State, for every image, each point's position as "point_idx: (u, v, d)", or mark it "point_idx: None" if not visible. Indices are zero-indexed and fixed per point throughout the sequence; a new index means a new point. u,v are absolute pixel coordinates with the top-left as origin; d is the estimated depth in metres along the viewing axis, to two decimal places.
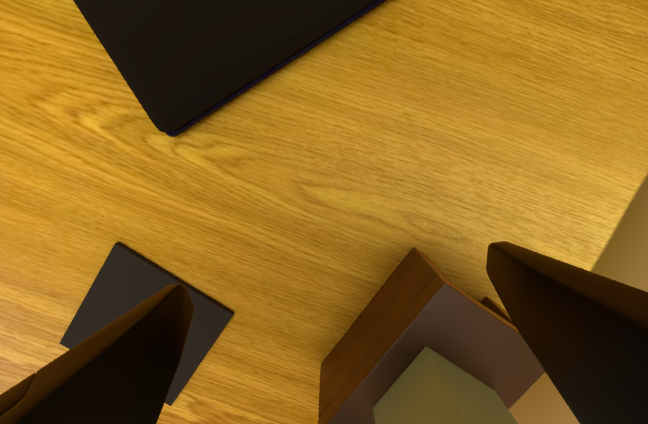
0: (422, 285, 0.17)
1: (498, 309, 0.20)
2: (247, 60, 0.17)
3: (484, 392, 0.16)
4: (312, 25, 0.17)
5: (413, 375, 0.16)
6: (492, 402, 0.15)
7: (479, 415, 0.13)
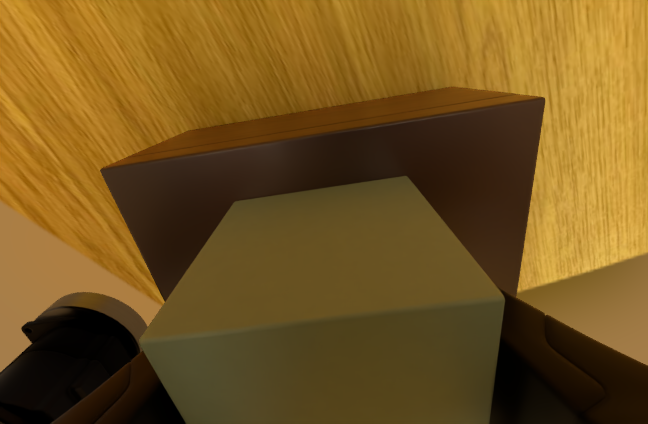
0: (474, 98, 0.09)
1: None
2: None
3: None
4: None
5: (358, 193, 0.08)
6: None
7: None
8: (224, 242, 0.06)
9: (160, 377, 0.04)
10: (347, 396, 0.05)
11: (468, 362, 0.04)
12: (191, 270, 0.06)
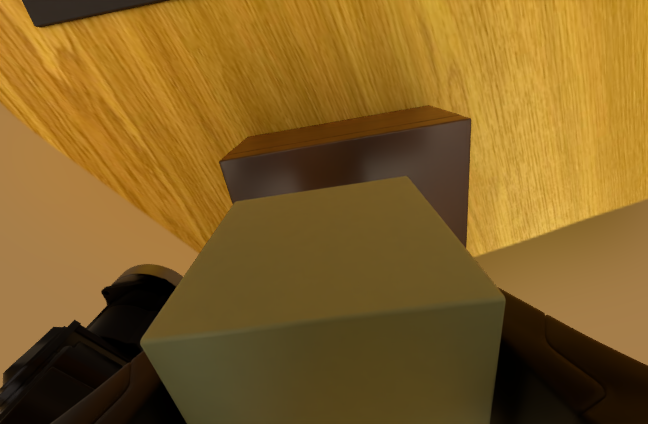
0: (436, 117, 0.15)
1: None
2: None
3: None
4: None
5: (358, 193, 0.08)
6: None
7: None
8: (225, 242, 0.06)
9: (161, 377, 0.04)
10: (348, 396, 0.05)
11: (469, 362, 0.04)
12: (192, 271, 0.06)
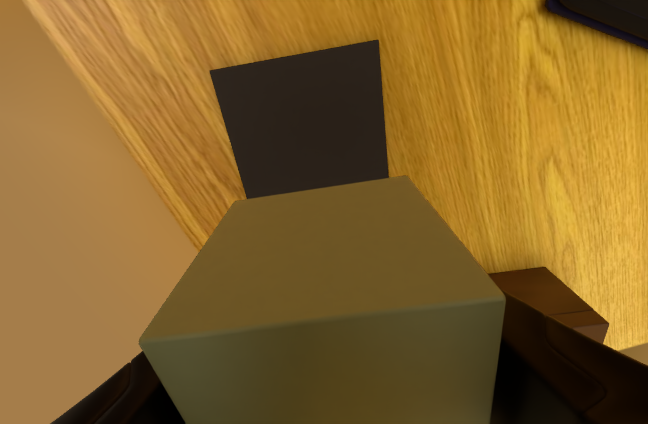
0: (573, 308, 0.20)
1: None
2: None
3: None
4: None
5: (358, 193, 0.08)
6: None
7: None
8: (224, 242, 0.06)
9: (160, 377, 0.04)
10: (347, 396, 0.05)
11: (469, 362, 0.04)
12: (191, 270, 0.06)
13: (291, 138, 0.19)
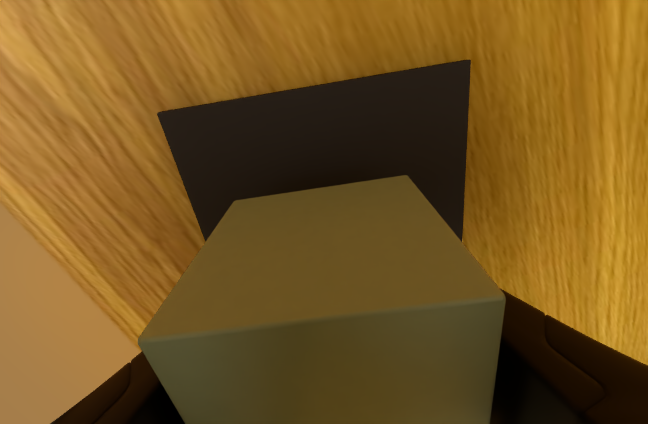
0: None
1: None
2: None
3: None
4: None
5: (358, 192, 0.08)
6: None
7: None
8: (223, 241, 0.06)
9: (159, 377, 0.04)
10: (347, 396, 0.05)
11: (468, 361, 0.04)
12: (190, 269, 0.06)
13: None
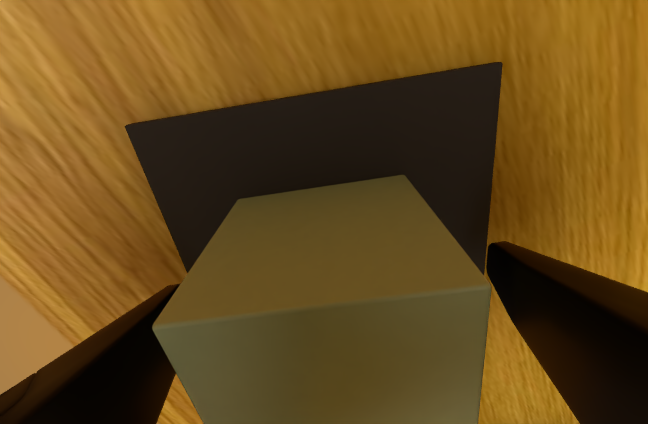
0: None
1: None
2: None
3: None
4: None
5: (357, 191, 0.08)
6: None
7: None
8: (229, 237, 0.07)
9: (171, 361, 0.05)
10: (346, 380, 0.05)
11: (458, 347, 0.05)
12: (199, 263, 0.06)
13: None
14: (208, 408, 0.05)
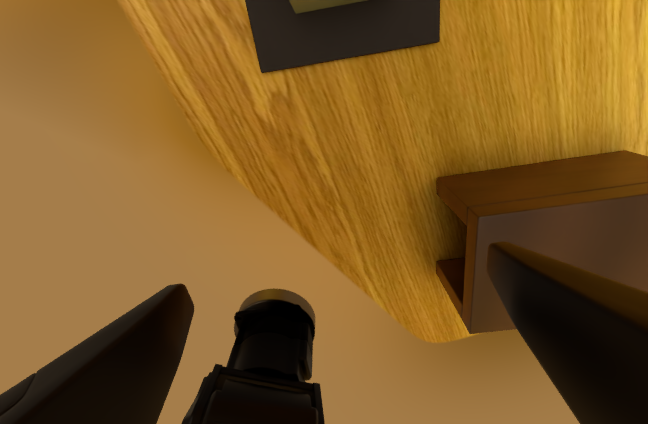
0: None
1: None
2: None
3: None
4: None
5: None
6: None
7: None
8: None
9: None
10: None
11: None
12: None
13: None
14: None
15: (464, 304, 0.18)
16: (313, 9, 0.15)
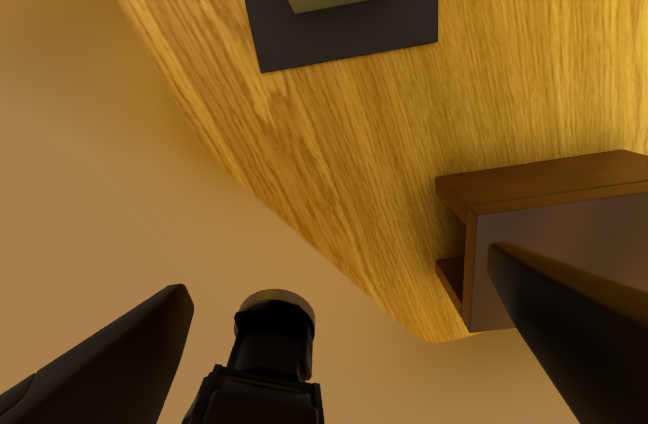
0: None
1: None
2: None
3: None
4: None
5: None
6: None
7: None
8: None
9: None
10: None
11: None
12: None
13: None
14: None
15: (463, 303, 0.18)
16: (312, 9, 0.15)
